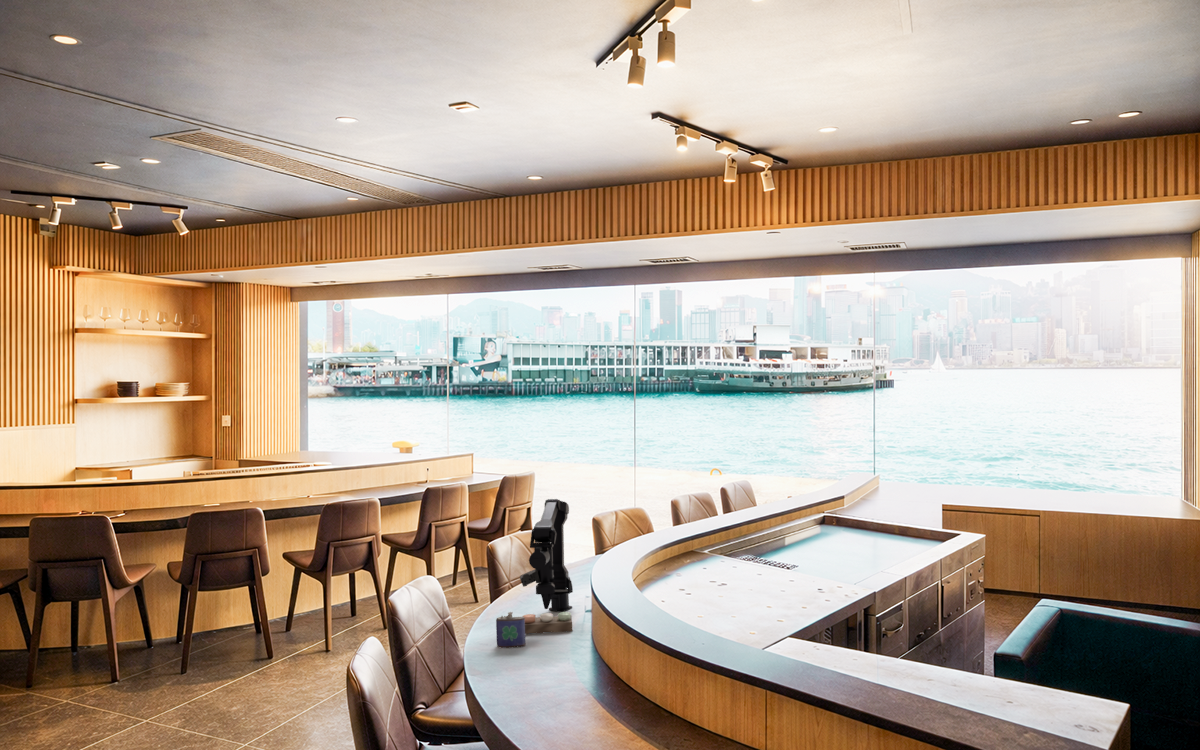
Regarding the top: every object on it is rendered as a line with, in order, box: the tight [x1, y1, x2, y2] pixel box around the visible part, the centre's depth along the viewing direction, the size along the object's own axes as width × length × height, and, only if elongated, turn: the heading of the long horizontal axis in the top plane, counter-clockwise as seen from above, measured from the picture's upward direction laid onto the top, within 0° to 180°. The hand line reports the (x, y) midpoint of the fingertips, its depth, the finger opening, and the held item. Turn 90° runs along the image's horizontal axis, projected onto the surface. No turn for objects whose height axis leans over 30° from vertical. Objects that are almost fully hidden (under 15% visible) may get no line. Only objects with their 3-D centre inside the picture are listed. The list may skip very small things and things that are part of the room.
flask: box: [495, 611, 526, 649], centre depth 228 cm, size 9×3×11 cm, turn 87°
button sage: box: [557, 611, 572, 621], centre depth 245 cm, size 4×4×2 cm
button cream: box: [539, 612, 554, 622], centre depth 244 cm, size 4×4×2 cm
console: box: [525, 615, 573, 635], centre depth 244 cm, size 17×8×3 cm, turn 94°
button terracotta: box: [521, 613, 536, 623], centre depth 244 cm, size 4×4×2 cm
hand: (546, 608), depth 244 cm, fingers closed
